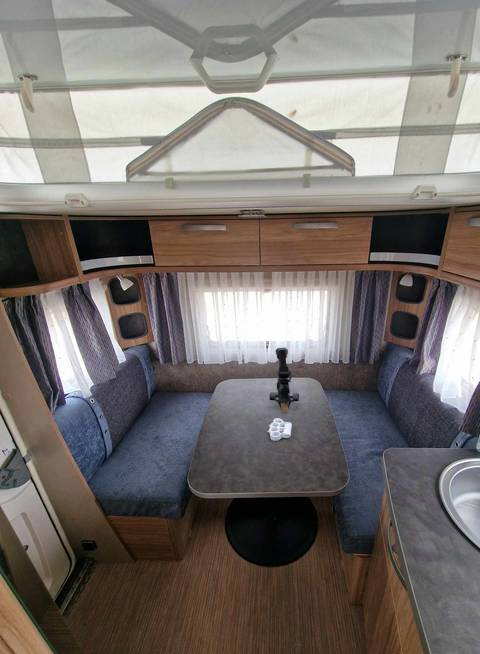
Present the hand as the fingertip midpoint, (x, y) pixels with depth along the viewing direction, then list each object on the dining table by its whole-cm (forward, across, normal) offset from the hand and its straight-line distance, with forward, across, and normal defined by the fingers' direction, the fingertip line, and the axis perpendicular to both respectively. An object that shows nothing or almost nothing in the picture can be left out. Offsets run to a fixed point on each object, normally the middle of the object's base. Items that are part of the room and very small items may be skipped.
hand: (284, 407), depth 186 cm
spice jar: (+2, 0, 0) cm, 2 cm away
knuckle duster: (+8, -2, -15) cm, 17 cm away
